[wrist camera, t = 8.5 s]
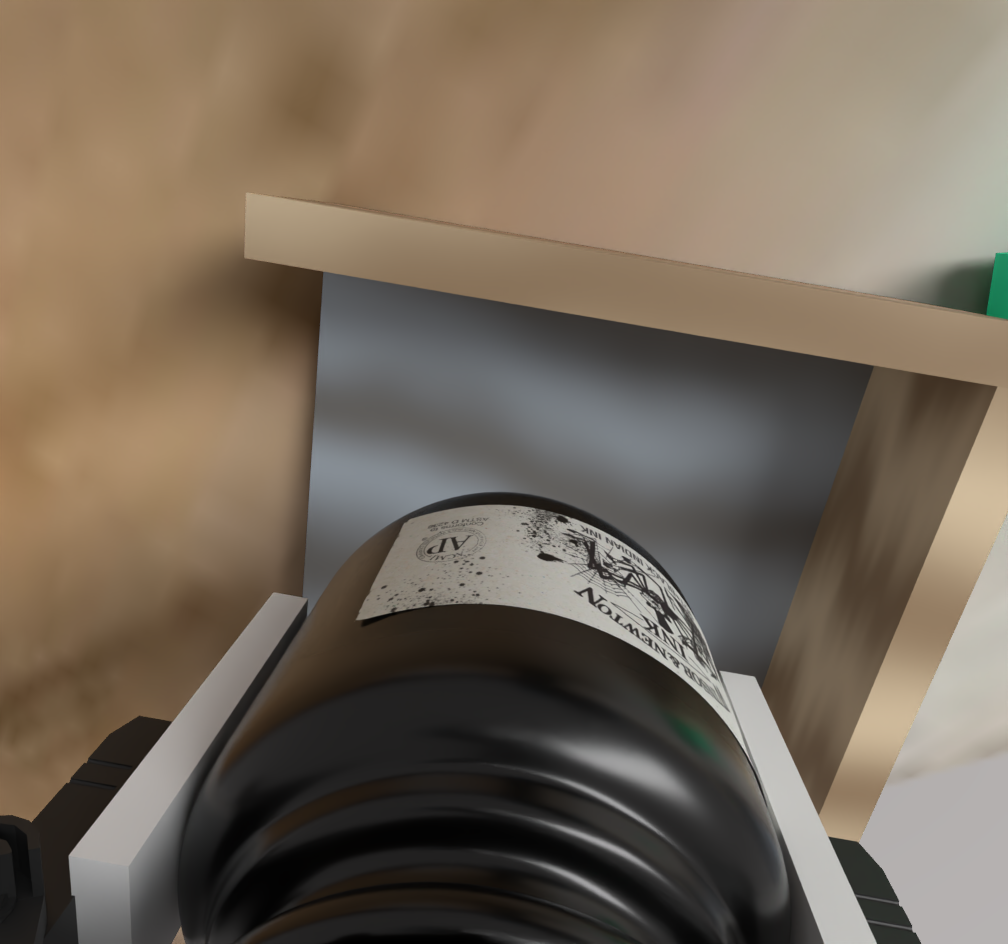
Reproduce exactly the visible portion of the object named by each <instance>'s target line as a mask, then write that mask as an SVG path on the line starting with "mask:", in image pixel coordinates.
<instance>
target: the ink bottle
mask: <svg viewBox="0 0 1008 944" xmlns="http://www.w3.org/2000/svg"><path fill="white" fill-rule="evenodd" d="M177 893H178V908H179V916H180V922H181V927H182V932H183V936H184V940H185V943H186V944H790V937H791V900H790V890H789V884H788V877H787V872H786V868H785V863H784V859H783V855H782V852H781V848H780V845H779V842H778V838H777V835H776V832H775V829H774V826H773V823H772V821H771V818H770V815H769V812H768V810H767V804H766V801H765V797H764V794H763V790H762V787H761V785H760V782H759V779H758V777H757V775H756V772H755V770H754V768H753V765H752V763H751V760H750V758H749V755H748V753H747V750H746V747H745V744H744V741H743V738H742V735H741V732H740V729H739V727H738V724H737V721H736V718H735V716H734V713H733V710H732V708H731V705H730V703H729V700H728V698H727V695H726V693H725V691H724V688H723V686H722V683H721V681H720V678H719V676H718V673H717V670H716V668H715V665H714V661H713V658H712V655H711V653H710V650H709V647H708V644H707V642H706V639H705V637H704V635H703V632H702V630H701V628H700V626H699V624H698V622H697V621H696V618H695V616H694V614H693V612H692V610H691V608H690V606H689V604H688V602H687V600H686V599H685V597H684V595H683V594H682V592H681V590H680V589H679V587H678V586H677V584H676V583H675V582H674V580H673V579H672V578H671V576H670V575H669V574H668V573H667V571H666V570H665V569H664V568H663V567H662V566H661V564H660V563H659V562H658V561H657V560H656V559H655V558H654V557H653V556H652V555H651V554H650V553H649V552H648V551H647V550H645V549H644V548H643V547H642V546H641V545H640V544H638V543H637V542H636V541H635V540H633V539H632V538H631V537H630V536H628V535H627V534H625V533H624V532H622V531H621V530H620V529H618V528H616V527H615V526H613V525H612V524H610V523H608V522H606V521H605V520H603V519H601V518H599V517H597V516H595V515H593V514H591V513H589V512H587V511H585V510H583V509H580V508H578V507H575V506H573V505H570V504H567V503H564V502H561V501H558V500H554V499H550V498H546V497H542V496H537V495H532V494H525V493H516V492H482V493H473V494H467V495H461V496H457V497H452V498H448V499H445V500H441V501H438V502H435V503H432V504H430V505H427V506H424V507H422V508H419V509H417V510H415V511H413V512H411V513H409V514H406V515H404V516H403V517H401V518H399V519H397V520H395V521H394V522H392V523H391V524H389V525H387V526H386V527H384V528H383V529H381V530H380V531H378V532H377V533H376V534H374V535H373V536H372V537H371V538H369V539H368V540H367V541H366V542H365V543H363V544H362V545H361V546H360V547H359V548H358V549H357V550H356V551H355V552H354V553H353V554H352V555H351V556H350V557H349V558H348V559H347V560H346V562H345V563H344V564H343V565H342V566H341V567H340V569H339V570H338V571H337V573H336V574H335V575H334V577H333V578H332V580H331V581H330V582H329V584H328V586H327V587H326V589H325V590H324V592H323V593H322V595H321V596H320V598H319V600H318V601H317V603H316V604H315V606H314V607H313V609H312V611H311V612H310V614H309V615H308V617H307V618H306V620H305V621H304V623H303V625H302V626H301V628H300V629H299V631H298V632H297V634H296V636H295V637H294V639H293V640H292V642H291V643H290V645H289V646H288V648H287V650H286V651H285V653H284V654H283V656H282V657H281V659H280V661H279V662H278V664H277V665H276V667H275V668H274V670H273V671H272V673H271V675H270V676H269V678H268V679H267V681H266V682H265V684H264V686H263V687H262V689H261V690H260V692H259V693H258V695H257V697H256V698H255V700H254V701H253V703H252V704H251V706H250V707H249V709H248V711H247V712H246V714H245V715H244V717H243V718H242V720H241V722H240V723H239V725H238V726H237V728H236V729H235V731H234V732H233V734H232V736H231V737H230V739H229V740H228V742H227V743H226V745H225V747H224V748H223V750H222V752H221V753H220V755H219V756H218V758H217V760H216V761H215V763H214V765H213V766H212V768H211V770H210V772H209V774H208V776H207V778H206V779H205V781H204V783H203V785H202V787H201V789H200V792H199V794H198V796H197V798H196V801H195V803H194V806H193V808H192V811H191V814H190V816H189V819H188V822H187V826H186V829H185V833H184V837H183V841H182V845H181V851H180V857H179V865H178V880H177Z"/></svg>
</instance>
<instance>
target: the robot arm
mask: <svg viewBox="0 0 1008 944" xmlns="http://www.w3.org/2000/svg"><path fill="white" fill-rule="evenodd" d="M307 608H308V598H303V597H298V596H292V595H286V594H280V593H275V592H273V594H272V595H271V596H270V597H269V599H268V600H267V601H266V603H265V604H264V605H263V606H262V608H261V609H260V610H259V612H258V613H257V614H256V615H255V617H254V618H253V619H252V621H251V622H250V623H249V624H248V626H247V627H246V628H245V630H244V631H243V632H242V633H241V635H240V636H239V637H238V639H237V640H236V641H235V642H234V644H233V645H232V646H231V648H230V649H229V650H228V651H227V653H226V654H225V655H224V657H223V658H222V659H221V660H220V662H219V663H218V664H217V666H216V667H215V668H214V669H213V671H212V672H211V673H210V675H209V676H208V677H207V678H206V680H205V681H204V682H203V684H202V685H201V686H200V687H199V689H198V690H197V691H196V693H195V694H194V695H193V696H192V698H191V699H190V700H189V702H188V703H187V704H186V705H185V707H184V708H183V709H182V711H181V712H180V713H179V714H178V716H177V717H176V718H175V720H174V721H173V722H171V721H165V720H160V719H154V718H148V717H143V716H138V717H137V718H135V719H133V720H132V721H130V722H129V723H127V724H125V725H124V726H122V727H121V728H119V729H117V730H116V731H114V732H113V733H111V734H109V736H108V737H107V738H106V739H105V740H104V741H103V742H102V743H101V745H100V746H99V747H98V748H97V749H96V750H95V751H94V752H93V754H92V755H91V756H90V757H89V758H88V762H87V763H84V764H83V765H82V766H81V767H80V768H79V769H78V771H77V772H76V773H75V774H74V775H73V776H72V777H71V780H70V782H69V783H66V784H65V785H64V786H63V788H62V789H61V790H60V791H59V792H58V793H57V794H56V795H55V797H54V798H53V799H52V800H51V801H50V802H49V803H48V804H47V806H46V807H45V808H44V809H43V810H42V811H41V812H40V814H39V815H38V816H37V817H36V818H35V819H34V820H33V821H32V823H31V822H30V821H29V820H25V819H22V818H19V817H16V816H13V815H5V816H0V944H171V943H172V941H173V939H174V938H175V936H176V934H177V932H178V930H179V928H180V926H181V922H180V916H179V908H178V893H177V880H178V865H179V857H180V851H181V845H182V841H183V837H184V833H185V829H186V826H187V822H188V819H189V816H190V814H191V811H192V808H193V806H194V803H195V801H196V798H197V796H198V794H199V792H200V789H201V787H202V785H203V783H204V781H205V779H206V778H207V776H208V774H209V772H210V770H211V768H212V766H213V765H214V763H215V761H216V760H217V758H218V756H219V755H220V753H221V752H222V750H223V748H224V747H225V745H226V743H227V742H228V740H229V739H230V737H231V736H232V734H233V732H234V731H235V729H236V728H237V726H238V725H239V723H240V722H241V720H242V718H243V717H244V715H245V714H246V712H247V711H248V709H249V707H250V706H251V704H252V703H253V701H254V700H255V698H256V697H257V695H258V693H259V692H260V690H261V689H262V687H263V686H264V684H265V682H266V681H267V679H268V678H269V676H270V675H271V673H272V671H273V670H274V668H275V667H276V665H277V664H278V662H279V661H280V659H281V657H282V656H283V654H284V653H285V651H286V650H287V648H288V646H289V645H290V643H291V642H292V640H293V639H294V637H295V636H296V634H297V632H298V631H299V629H300V628H301V626H302V625H303V623H304V621H305V620H306V618H307ZM718 676H719V678H720V681H721V683H722V686H723V688H724V691H725V693H726V695H727V698H728V700H729V703H730V705H731V708H732V710H733V713H734V716H735V718H736V721H737V724H738V727H739V729H740V732H741V735H742V738H743V741H744V744H745V747H746V750H747V753H748V755H749V758H750V760H751V763H752V765H753V768H754V770H755V772H756V775H757V777H758V779H759V782H760V785H761V787H762V790H763V794H764V797H765V801H766V804H767V810H768V812H769V815H770V818H771V821H772V823H773V826H774V829H775V832H776V835H777V838H778V842H779V845H780V848H781V852H782V855H783V859H784V863H785V868H786V872H787V877H788V884H789V890H790V900H791V937H790V944H921V942H920V940H919V938H918V937H917V935H916V933H913V931H912V925H911V923H910V921H909V919H908V917H907V915H906V913H905V911H904V910H903V908H902V907H900V906H899V900H898V898H897V896H896V894H895V892H894V890H893V888H892V886H891V885H890V883H889V881H888V879H887V877H886V875H885V873H884V871H883V870H882V868H881V867H880V866H879V865H878V864H877V863H876V862H875V861H874V860H873V859H872V857H871V856H870V855H869V854H868V853H867V852H866V851H865V849H864V848H863V847H862V846H861V845H860V844H859V843H858V842H857V841H851V840H845V839H840V838H834V837H829V836H827V833H826V831H825V829H824V827H823V825H822V823H821V820H820V818H819V816H818V814H817V812H816V809H815V807H814V805H813V803H812V801H811V798H810V796H809V794H808V792H807V790H806V788H805V785H804V783H803V781H802V779H801V777H800V774H799V772H798V770H797V768H796V766H795V764H794V761H793V759H792V757H791V755H790V753H789V750H788V748H787V746H786V744H785V742H784V739H783V737H782V735H781V733H780V731H779V729H778V726H777V724H776V722H775V720H774V718H773V715H772V713H771V711H770V709H769V707H768V704H767V702H766V700H765V698H764V696H763V694H762V691H761V689H760V687H759V685H758V683H757V680H756V678H755V677H753V676H748V675H742V674H736V673H731V672H725V671H719V674H718Z"/></svg>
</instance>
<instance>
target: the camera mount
mask: <svg viewBox="0 0 1008 944" xmlns="http://www.w3.org/2000/svg"><path fill="white" fill-rule="evenodd" d="M986 315H987V316H992V317H998V318H1003V319H1008V252H1007V253H996V256H995V262H994V268H993V275H992V281H991V288H990V294H989V300H988V307H987V313H986Z"/></svg>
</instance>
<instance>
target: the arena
mask: <svg viewBox="0 0 1008 944" xmlns="http://www.w3.org/2000/svg"><path fill="white" fill-rule="evenodd" d="M244 258H247V259H253V260H259V261H265V262H271V263H277V264H283V265H288V266H294V267H300V268H306V269H312V270H318V271H324V273H323V288H322V304H321V319H320V335H319V350H318V366H317V381H316V397H315V412H314V427H313V443H312V458H311V474H310V489H309V505H308V520H307V535H306V551H305V566H304V582H303V598H308V608H307V617H308V615H309V614H310V612H311V611H312V609H313V607H314V606H315V604H316V603H317V601H318V600H319V598H320V596H321V595H322V593H323V592H324V590H325V589H326V587H327V586H328V584H329V582H330V581H331V580H332V578H333V577H334V575H335V574H336V573H337V571H338V570H339V569H340V567H341V566H342V565H343V564H344V563H345V562H346V560H347V559H348V558H349V557H350V556H351V555H352V554H353V553H354V552H355V551H356V550H357V549H358V548H359V547H360V546H361V545H362V544H363V543H365V542H366V541H367V540H368V539H369V538H371V537H372V536H373V535H374V534H376V533H377V532H378V531H380V530H381V529H383V528H384V527H386V526H387V525H389V524H391V523H392V522H394V521H395V520H397V519H399V518H401V517H403V516H404V515H406V514H409V513H411V512H413V511H415V510H417V509H419V508H422V507H424V506H427V505H430V504H432V503H435V502H438V501H441V500H445V499H448V498H452V497H457V496H461V495H467V494H473V493H482V492H516V493H525V494H532V495H537V496H542V497H546V498H550V499H554V500H558V501H561V502H564V503H567V504H570V505H573V506H575V507H578V508H580V509H583V510H585V511H587V512H589V513H591V514H593V515H595V516H597V517H599V518H601V519H603V520H605V521H606V522H608V523H610V524H612V525H613V526H615V527H616V528H618V529H620V530H621V531H622V532H624V533H625V534H627V535H628V536H630V537H631V538H632V539H633V540H635V541H636V542H637V543H638V544H640V545H641V546H642V547H643V548H644V549H645V550H647V551H648V552H649V553H650V554H651V555H652V556H653V557H654V558H655V559H656V560H657V561H658V562H659V563H660V564H661V566H662V567H663V568H664V569H665V570H666V571H667V573H668V574H669V575H670V576H671V578H672V579H673V580H674V582H675V583H676V584H677V586H678V587H679V589H680V590H681V592H682V594H683V595H684V597H685V599H686V600H687V602H688V604H689V606H690V608H691V610H692V612H693V614H694V616H695V618H696V621H697V622H698V624H699V626H700V628H701V630H702V632H703V635H704V637H705V639H706V642H707V644H708V647H709V650H710V653H711V655H712V658H713V661H714V665H715V668H716V670H717V673H718V674H719V671H725V672H731V673H736V674H742V675H748V676H753V677H755V678H756V680H757V683H758V685H759V687H760V689H761V691H762V694H763V696H764V698H765V700H766V702H767V704H768V707H769V709H770V711H771V713H772V715H773V718H774V720H775V722H776V724H777V726H778V729H779V731H780V733H781V735H782V737H783V739H784V742H785V744H786V746H787V748H788V750H789V753H790V755H791V757H792V759H793V761H794V764H795V766H796V768H797V770H798V772H799V774H800V777H801V779H802V781H803V783H804V785H805V788H806V790H807V792H808V794H809V796H810V798H811V801H812V803H813V805H814V807H815V809H816V812H817V814H818V816H819V818H820V820H821V823H822V825H823V827H824V829H825V831H826V833H827V836H829V837H834V838H840V839H845V840H851V841H857V842H858V843H859V841H860V839H861V836H862V834H863V832H864V830H865V828H866V825H867V823H868V821H869V819H870V816H871V814H872V812H873V810H874V808H875V805H876V803H877V801H878V799H879V797H880V794H881V792H882V790H883V788H884V785H885V783H886V781H887V779H888V777H889V774H890V772H891V770H892V768H893V766H894V763H895V761H896V759H897V757H898V754H899V752H900V750H901V748H902V746H903V743H904V741H905V739H906V737H907V735H908V732H909V730H910V728H911V726H912V723H913V721H914V719H915V717H916V715H917V712H918V710H919V708H920V706H921V703H922V701H923V699H924V697H925V695H926V692H927V690H928V688H929V686H930V684H931V681H932V679H933V677H934V675H935V672H936V670H937V668H938V666H939V664H940V661H941V659H942V657H943V655H944V653H945V650H946V648H947V646H948V644H949V641H950V639H951V637H952V635H953V633H954V630H955V628H956V626H957V624H958V621H959V619H960V617H961V615H962V613H963V610H964V608H965V606H966V604H967V602H968V599H969V597H970V595H971V593H972V590H973V588H974V586H975V584H976V582H977V579H978V577H979V575H980V573H981V571H982V568H983V566H984V564H985V562H986V559H987V557H988V555H989V553H990V551H991V548H992V546H993V544H994V542H995V540H996V537H997V535H998V533H999V531H1000V528H1001V526H1002V524H1003V522H1004V520H1005V517H1006V515H1007V513H1008V319H1003V318H998V317H992V316H987V315H982V314H977V313H972V312H967V311H962V310H957V309H951V308H946V307H941V306H936V305H931V304H925V303H919V302H913V301H907V300H901V299H896V298H890V297H884V296H878V295H872V294H866V293H860V292H854V291H848V290H842V289H836V288H831V287H825V286H819V285H813V284H807V283H801V282H795V281H789V280H783V279H777V278H772V277H766V276H760V275H754V274H748V273H742V272H736V271H730V270H724V269H718V268H713V267H707V266H701V265H695V264H689V263H683V262H677V261H671V260H665V259H659V258H654V257H648V256H642V255H636V254H630V253H624V252H618V251H612V250H606V249H600V248H595V247H589V246H583V245H577V244H571V243H565V242H559V241H553V240H547V239H541V238H535V237H530V236H524V235H518V234H512V233H506V232H500V231H494V230H488V229H482V228H476V227H471V226H465V225H459V224H453V223H447V222H441V221H435V220H429V219H423V218H417V217H412V216H406V215H400V214H394V213H388V212H382V211H376V210H370V209H364V208H358V207H353V206H347V205H341V204H335V203H327V202H319V201H311V200H303V199H295V198H287V197H279V196H271V195H263V194H255V193H247V192H246V210H245V248H244Z"/></svg>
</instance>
